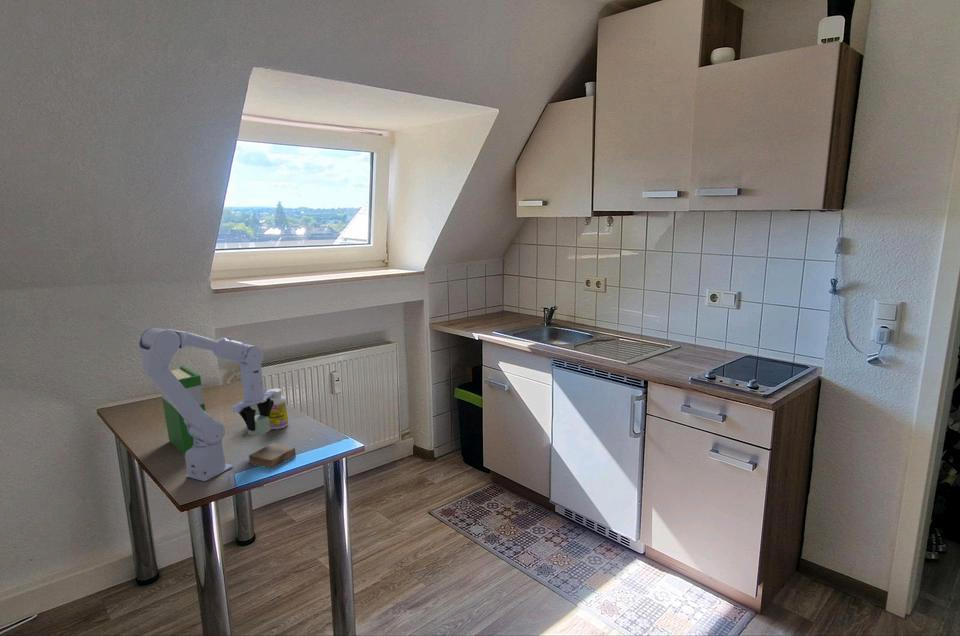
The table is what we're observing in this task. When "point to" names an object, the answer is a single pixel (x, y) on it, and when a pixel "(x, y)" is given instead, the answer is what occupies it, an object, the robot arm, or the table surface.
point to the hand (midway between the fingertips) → (258, 427)
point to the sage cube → (260, 425)
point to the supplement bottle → (278, 411)
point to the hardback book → (173, 418)
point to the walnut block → (272, 455)
